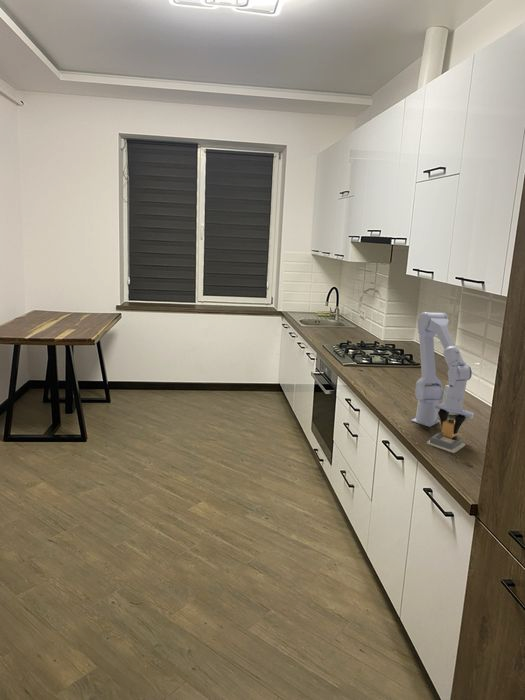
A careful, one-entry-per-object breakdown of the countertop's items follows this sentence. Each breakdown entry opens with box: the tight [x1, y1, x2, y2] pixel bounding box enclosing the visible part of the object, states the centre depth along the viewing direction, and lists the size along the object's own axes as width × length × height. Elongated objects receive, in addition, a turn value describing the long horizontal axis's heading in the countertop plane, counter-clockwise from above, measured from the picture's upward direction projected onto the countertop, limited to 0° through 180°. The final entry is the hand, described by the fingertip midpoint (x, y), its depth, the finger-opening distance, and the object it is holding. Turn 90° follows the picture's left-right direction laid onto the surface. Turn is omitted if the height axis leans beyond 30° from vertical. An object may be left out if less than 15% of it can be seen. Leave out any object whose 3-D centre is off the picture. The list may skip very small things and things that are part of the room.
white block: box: [442, 384, 458, 416], centre depth 218 cm, size 6×4×12 cm
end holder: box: [426, 431, 466, 454], centre depth 183 cm, size 10×10×3 cm
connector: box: [440, 418, 458, 439], centre depth 192 cm, size 7×4×6 cm, turn 138°
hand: (449, 431), depth 191 cm, fingers closed on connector, 4 cm apart
